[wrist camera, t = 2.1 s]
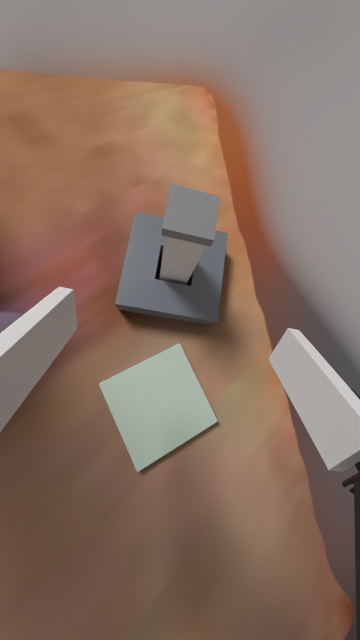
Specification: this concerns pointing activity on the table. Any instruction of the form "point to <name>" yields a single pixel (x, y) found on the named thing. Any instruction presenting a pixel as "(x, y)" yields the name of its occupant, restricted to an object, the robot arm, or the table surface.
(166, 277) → the plug
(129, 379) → the pad
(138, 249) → the grey square socket block
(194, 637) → the table surface
